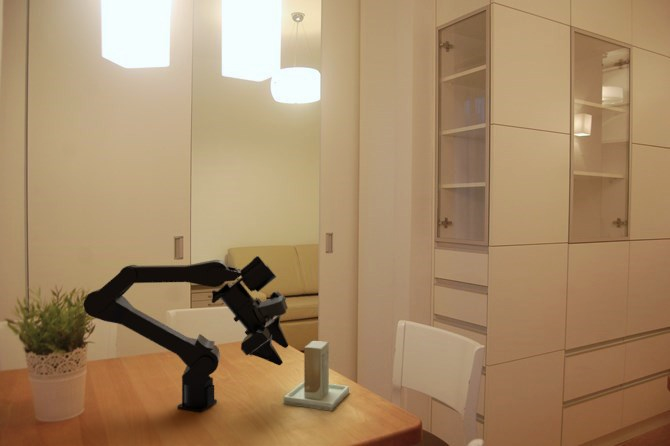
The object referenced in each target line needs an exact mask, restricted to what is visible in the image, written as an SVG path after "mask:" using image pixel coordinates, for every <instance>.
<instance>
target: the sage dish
mask: <svg viewBox="0 0 670 446" xmlns="http://www.w3.org/2000/svg"><path fill="white" fill-rule="evenodd" d="M349 393H350V386H349V385H342V384H335V383H329V391H328V392H327V394H326V395H325V396H324V397H323V398H322V399H321V400H318V399H310V398H304V381H302V382H301V383H299V384H298V385H297V386H296V387H294V388H293V389H292V390H291V391H289V392H288V393H287V394H285V395H283V404H284V405H291V406H297V407H304V408H311V409H316V410H322V411H323V410H324V411H329V412H332V411H333V410H334V409H336V408H337V406H338V405H339V404H340V403H341V402H342V401H343V400H344V399H345V397H347V395H348V394H349Z"/></svg>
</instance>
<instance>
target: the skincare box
mask: <svg viewBox="0 0 670 446" xmlns="http://www.w3.org/2000/svg"><path fill="white" fill-rule="evenodd" d="M329 345H330V343H329V341H320V340H312V341H310V342H309V343H307V345H305V346H304V349H303V350H304V351H303V352H304V356H303V357H304V360H303V362H304V365H303V366H304V371H303V372H304V375H303V377H304V398H310V399H318V400H321V399H322V398H323V397H324V396H325V395H326V394H327V392H328V391H329V384H330V377H329V376H330V374H329V373H330V372H329V371H330V367H329V365H330V364H329V363H330V360H329V358H330V349H329V347H330V346H329Z"/></svg>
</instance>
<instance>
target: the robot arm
mask: <svg viewBox="0 0 670 446" xmlns="http://www.w3.org/2000/svg"><path fill="white" fill-rule="evenodd" d="M276 278H277V276H276V274H275V273H274V272H273V270H272V269H271V267H270V266H269V265H268V264H266V263H265V262H264V260H262V258H261V257H260V256H259V255H256V256H255V257H253V258H252V260H251V261H250V262H249V263H248V264H246V265H245V266H244V267H243V268H238V267H232V266H228V265H227V263H225V261H223V260H221V259H212V260H207V261H202V262H198V263H192V264H185V265H184V264H181V265H180V264H177V265H175V264H173V265H172V264H170V265H138V264H129V265H127V266H124V267H123V268H121V269H120V271H119V273H118V274H116V275H115V276H114V277H113V278H112V279H110V280H109V281H108V282H107V283H106V284H104V285H103V286H102V287H101V288H99V289H96V290H94V291H91V292H90V293H89V294H88V295H86V297H84V300H83V308H84V312H85V314H87V315H88V316H89V317H92V318H94V319H97V320H100V321H103V322H107V323H112V324H118V325H120V326H123V327H125V328H127V329H129V330H131V331H133V332H135V333H136V334H138V335H140V336H142V337H144V338H146V339H147V340H149V341H151V342H153V343H154V344H155V345H156V344H157V345H158V346H160V347H162V348H164V349H166V350H167V351H170V352H171V353H173V354H175V355H176V356H178V358H180V360H181V361H182V362H183V363H184V365H186V366H185V369H184V371H183V373H182V375H181V403H179V404H178V405H177V406H176V407H177V409H180V410H181V409H182V410H186V411H193V412H198V413H199V412H203V411H204V410H206V409H208V408H209V407H211V406H213V405H214V404H216V403H218V400H217V398H216V399H215V384H214V377H211V376H210V375H212V374H213V373H214V372H215V371H216V370H217V369H218V366H219V363H220V358H221V352H220V349H219V347H218V346H217V345H215V341H214V340H209V339H208V338H206V337H205V336H204V335H202V334H200V333H199V334H198V336H197V338H192V337H188V336H186V335H184V334H183V333H181V332H179V331H177V330H176V329H174V328H172V327H169V325H166V324H164V323H163V322H161V321H159V320H157V319H155V318H154V317H152V316H150V315H148V314H146V313H144V312H142V311H141V310H139V309H137V308H135V307H134V306H133V305H132V304H131V302H129V301H128V299H127V298H126V297H125V296H123V295H124V294H125V293H127V291H128V290H129V289H130V288H131V287H132V286H133V285H134V284H153V283H155V284H157V283H158V284H159V283H188V284H194V285H199V286H205V287H210V288H211V287H212V288H218V287H220V286H221V288H219V289H213V290H212V291H211V294H212V298H211V303H212V304H215V303H216V302H218V301H219V300H221V301H222V302H223V304H225V305H226V307H227V309H229V310H230V312H231V313H232V314H233V316H234V317H233V321H234V322H236V323H237V322H240V324H241V325H242V326H243V328H245V331H244V334H245V335H246V336H245V337H244V338H243V340H242V342H241V345H240V350H241V351H242V352H243V354H244V355H245V356H254V357H258V358H261V359H263V360H265V361H268V362H270V363H273V364H275V365H277V366H281V365H282V364H283V363H284V362H283V359H282V358H281V357H280V354H279V353H278V352H277V350H276V348H275V346H274V345H273V343H272V341H273V342H275V343H276V344H278V345H279V346H280V347H282V348H284V349H287V348H288V347H289V343H288V341H287V338H286V336H285V334H284V332H283V329H282V328H281V323H280V322H281V316H283V315H285V314H286V313H287V309H288V305H287V302H286V299H287V298H286V297H285V296H284V294H281V293H280V292H279V291H278V290H275V291H273V292H271V294H270V297H269V298H267V299H266V300H263V301H261V299H259V298H257V297H256V298H254V297H253V296H252V295H251V294H250V293H249V291H250V292H255V291H256V292H257V293H259V292H260V291H261V290H263V289H264V288H265V287H266V286H267V285H269V284H270V283H272V281H274V280H276ZM234 281H235V282H234ZM226 282H227V283H226ZM229 282H233V283H232V284H230V283H229ZM241 282H242V283H243V284H242V283H241ZM243 285H245V286H246V288H247V289H248V290H249V291H248V290H247V289H246V288H245V286H243Z"/></svg>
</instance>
